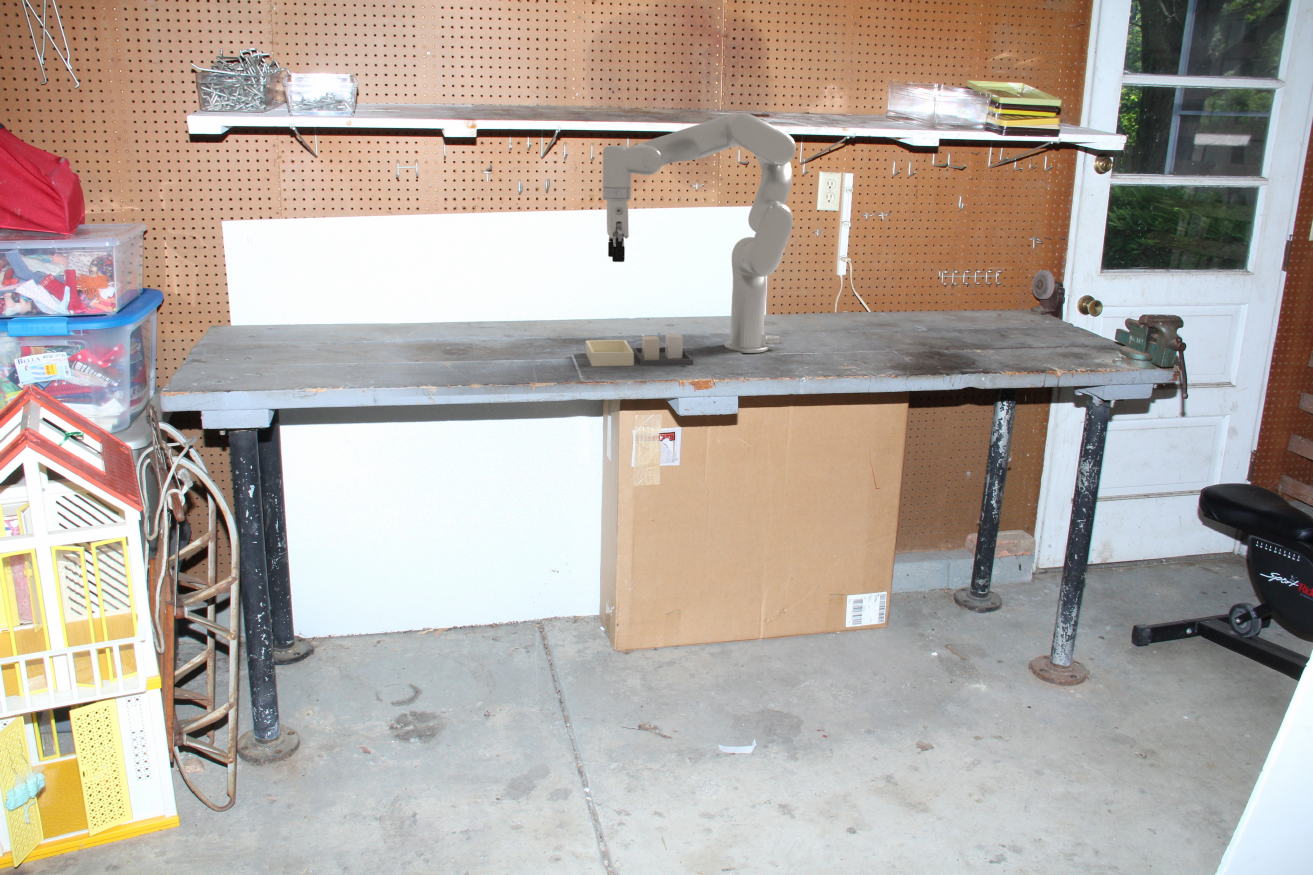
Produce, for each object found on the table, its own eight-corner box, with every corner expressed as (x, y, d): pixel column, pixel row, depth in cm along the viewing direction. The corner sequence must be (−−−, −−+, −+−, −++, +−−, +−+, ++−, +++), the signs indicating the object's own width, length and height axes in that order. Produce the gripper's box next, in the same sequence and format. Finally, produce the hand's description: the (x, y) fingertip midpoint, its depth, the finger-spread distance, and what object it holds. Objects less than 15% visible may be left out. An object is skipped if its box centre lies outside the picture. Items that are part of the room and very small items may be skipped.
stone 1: (656, 357, 266) (656, 336, 264) (658, 361, 263) (659, 339, 261) (641, 358, 266) (642, 336, 264) (644, 361, 262) (644, 339, 260)
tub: (625, 354, 272) (625, 340, 270) (633, 367, 258) (633, 352, 256) (585, 354, 270) (585, 340, 269) (591, 368, 256) (592, 353, 255)
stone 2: (679, 354, 270) (680, 333, 268) (682, 358, 267) (682, 336, 265) (665, 355, 270) (665, 333, 268) (667, 358, 266) (668, 336, 264)
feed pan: (681, 353, 274) (681, 346, 274) (692, 366, 260) (693, 359, 260) (632, 354, 272) (632, 347, 271) (641, 367, 258) (641, 360, 257)
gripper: (635, 197, 252) (634, 263, 257) (626, 192, 268) (625, 255, 273) (606, 196, 251) (605, 263, 256) (599, 191, 267) (599, 255, 272)
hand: (616, 259), depth 265 cm, fingers open, 9 cm apart
